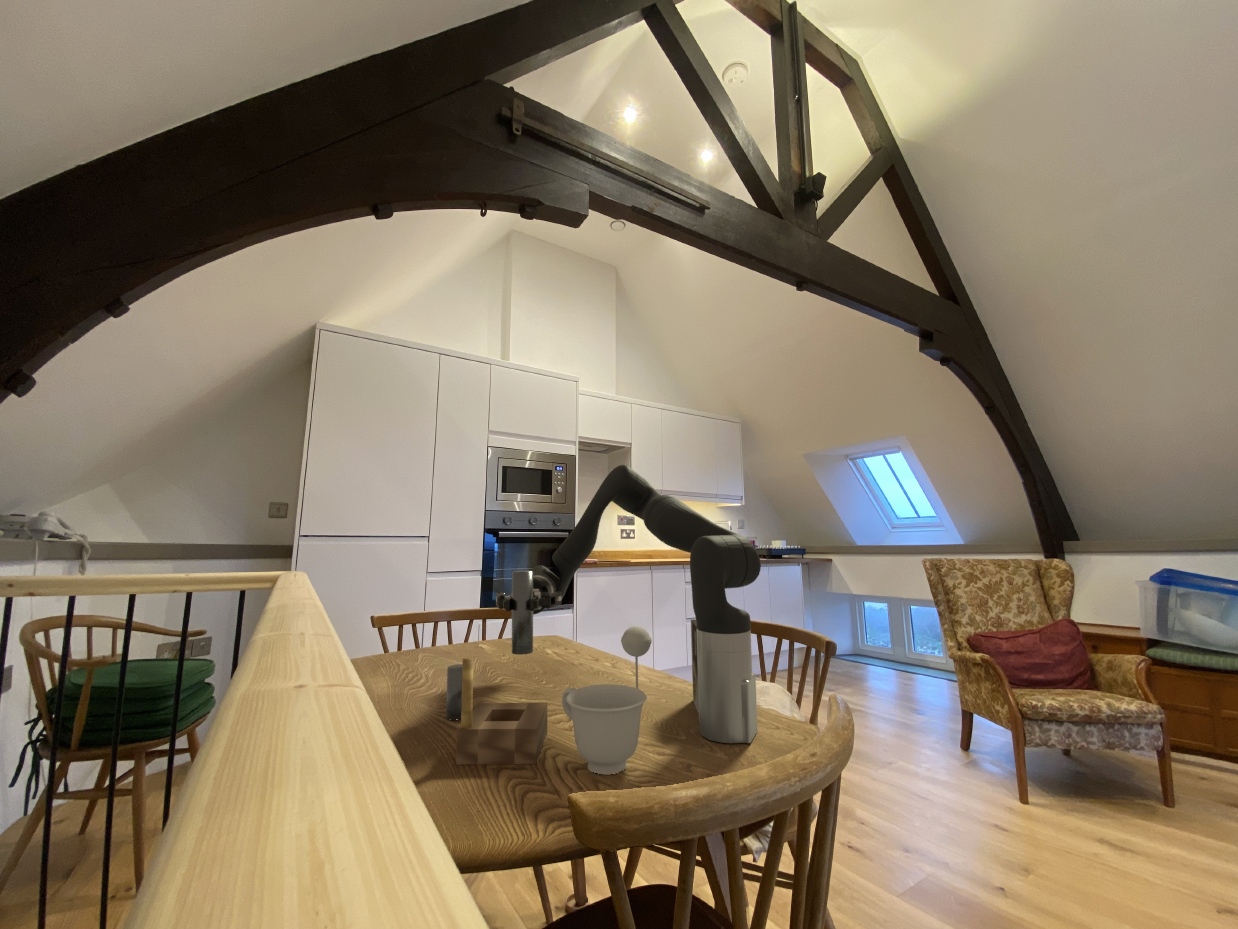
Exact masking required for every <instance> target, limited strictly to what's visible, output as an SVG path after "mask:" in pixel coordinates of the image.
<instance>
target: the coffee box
mask: <svg viewBox="0 0 1238 929" xmlns="http://www.w3.org/2000/svg"><path fill="white" fill-rule="evenodd" d="M690 637H691V638H690V639H691V644H690V646H691V668H692V669H691V670H692V671H691V672H692V674H691V675H692V676H691V677H692V700H693V701H692V702H693V704H694V706H695V709H696V711H697V714H698V715H699V702H698V664H697V624H696V619H690Z"/></svg>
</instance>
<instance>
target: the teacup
mask: <svg viewBox="0 0 1238 929" xmlns="http://www.w3.org/2000/svg"><path fill="white" fill-rule="evenodd" d="M647 699H648V697H647V694H646V693H645V692H644V691H642V690H641V689H639V688H638V689H637V688H636V687H633V686H630V685H623V684H609V683H608V684H593V685H588V686H583V687H579V688H575V687H568V688H566V689H565V690H564V692H563V693H562V698H561V704H562V708H563V711H564V713H565V715H566V717H568V718H569V720H571V721H572V725H573V734H574V735H573V736H574V741H575V746H576V748H577V751H578V754H579V755H580V756H581V758H583V759H584V760H585V761H587V769H588V770H589V771H590V772H591V773H593V772H594V773H593V774H595V773H598V774H597V775H599V774H613V773H617V772H620V771H622V770H623V771H625V770H626V768H627V760H628V759H630V758H631V757H632V756H633V755H634V753H635V752H636V750H637V748H638V743H639V738H640V730H641V728H640V727H641V718H642V716H641V715H642V710H643V709H642V708H643V706H644V703H646V701H647ZM625 767H626V768H625ZM624 769H625V770H624ZM623 771H622V772H623ZM620 773H621V772H620ZM617 774H618V773H617Z"/></svg>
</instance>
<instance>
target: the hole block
mask: <svg viewBox="0 0 1238 929" xmlns="http://www.w3.org/2000/svg"><path fill="white" fill-rule="evenodd" d="M462 664H463V665H462V711H461V720H460V721H461V722H460V725H459V726H458V728H456V743H455V744H456V746H455V748H456V750H455V752H456V753H455V765H533V764H534V765H537V763H538V760H539V757H540V754H541V751H542V750H543V747H542V746H544V744H545V741H546V738H547V735H548V702H479V703H478V702H477V704H476V705H475V706H474V708H473V703H474V702H473V700H474V699H473V698H474V696H473V694H474V693H473V691H474V684H473V683H474V658H473V657H465V658H462ZM544 740H545V741H544ZM543 743H544V744H543Z"/></svg>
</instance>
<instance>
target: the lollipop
mask: <svg viewBox="0 0 1238 929" xmlns="http://www.w3.org/2000/svg"><path fill="white" fill-rule="evenodd" d="M652 641H653V640H652V637H651V635H650V633H649V632H648V631H647V629H645V628H644V627H642V626H639V625H633V626H629V627H628V628H626V629H625V631H624V632H623V634H622V636H621V640H620V642H621V646H622V648H623V651H624V652H625V653H627V655H629V656H630V657H635V658H634V659H635V661H634V662H635V665H634V666H635V688H637V689H639V671H638V670H639V666H638V665H639V662H638V661H639V659H638V657H642V656H644V655H646V654H647V653H648V651H649V650H650V648H651V645H652Z"/></svg>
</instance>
